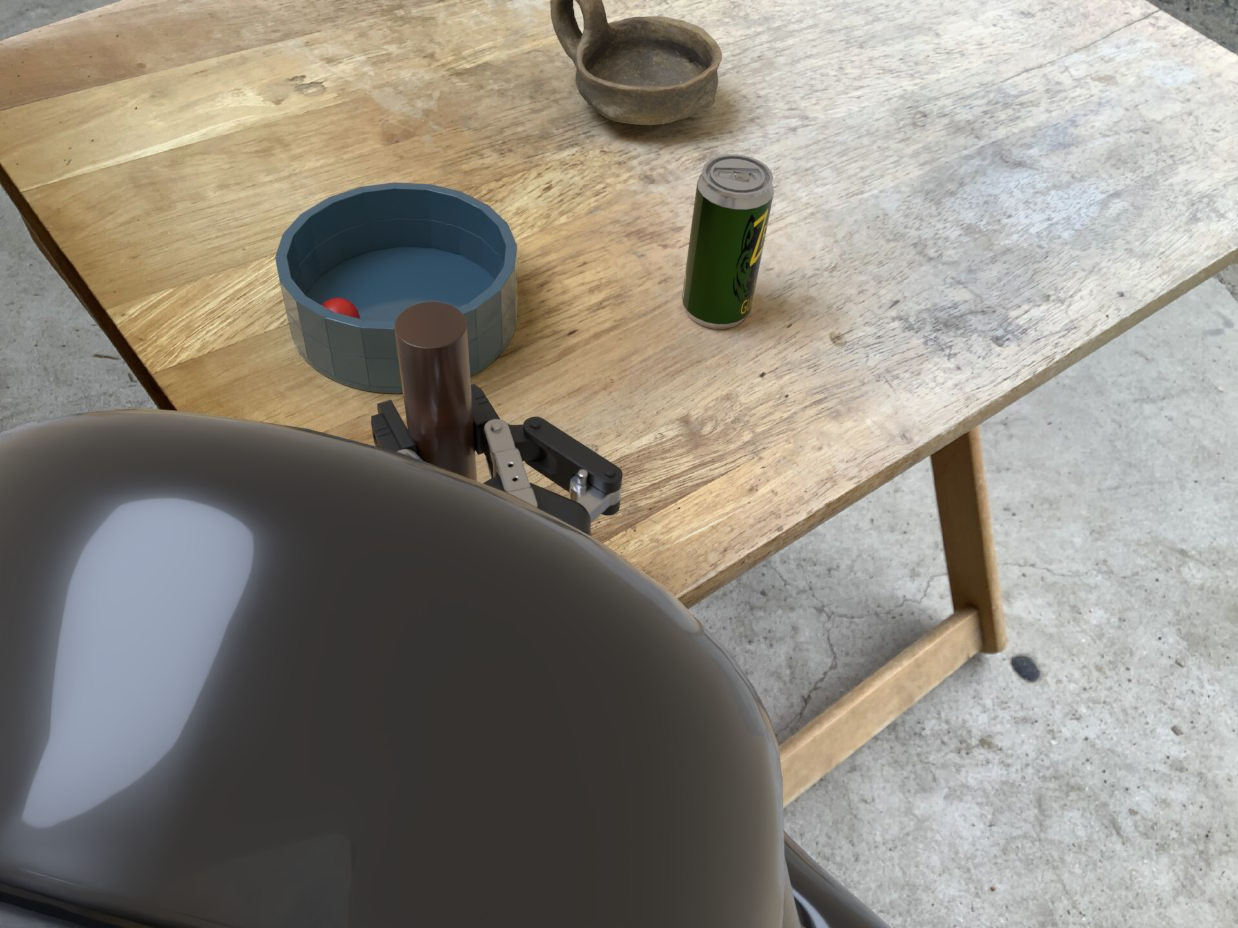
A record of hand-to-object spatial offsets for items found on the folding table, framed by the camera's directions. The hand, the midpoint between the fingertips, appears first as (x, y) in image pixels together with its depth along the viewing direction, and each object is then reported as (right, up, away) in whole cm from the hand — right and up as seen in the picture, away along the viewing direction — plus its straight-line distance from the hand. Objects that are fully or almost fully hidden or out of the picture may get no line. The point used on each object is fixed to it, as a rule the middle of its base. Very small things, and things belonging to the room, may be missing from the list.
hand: (420, 403), depth 56 cm
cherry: (-10, +7, +22) cm, 25 cm away
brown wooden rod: (+1, -9, +6) cm, 11 cm away
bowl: (+11, +31, +48) cm, 58 cm away
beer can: (+18, +9, +28) cm, 34 cm away
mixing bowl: (-6, +8, +25) cm, 27 cm away
